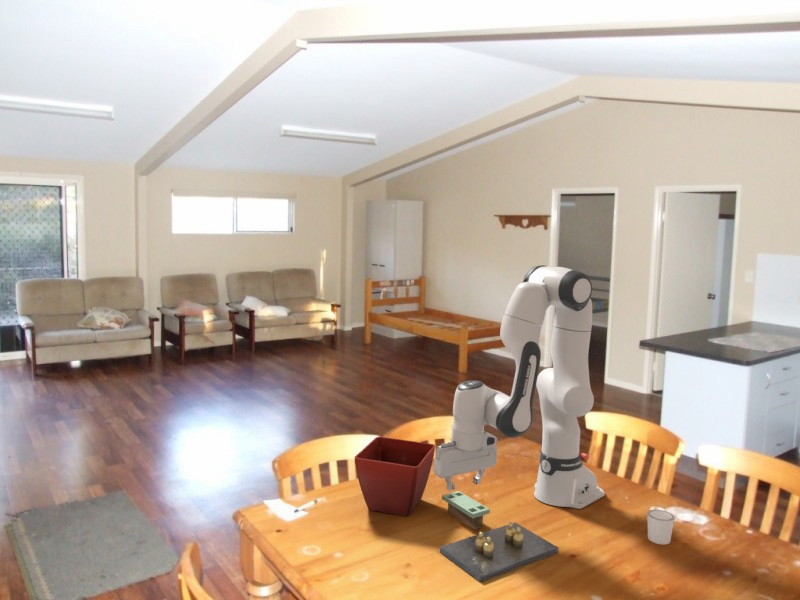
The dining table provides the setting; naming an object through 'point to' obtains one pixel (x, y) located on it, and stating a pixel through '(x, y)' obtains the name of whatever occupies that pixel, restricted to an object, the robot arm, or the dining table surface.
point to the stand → (466, 517)
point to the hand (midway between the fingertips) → (463, 486)
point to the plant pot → (394, 474)
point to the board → (466, 504)
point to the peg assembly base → (498, 551)
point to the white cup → (660, 526)
